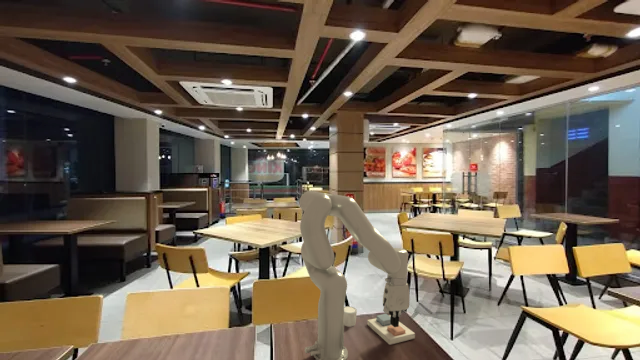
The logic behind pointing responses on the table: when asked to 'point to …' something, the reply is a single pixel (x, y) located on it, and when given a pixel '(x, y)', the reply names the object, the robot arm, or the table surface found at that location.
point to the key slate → (383, 319)
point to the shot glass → (349, 316)
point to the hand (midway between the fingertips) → (394, 325)
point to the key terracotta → (396, 330)
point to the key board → (389, 336)
